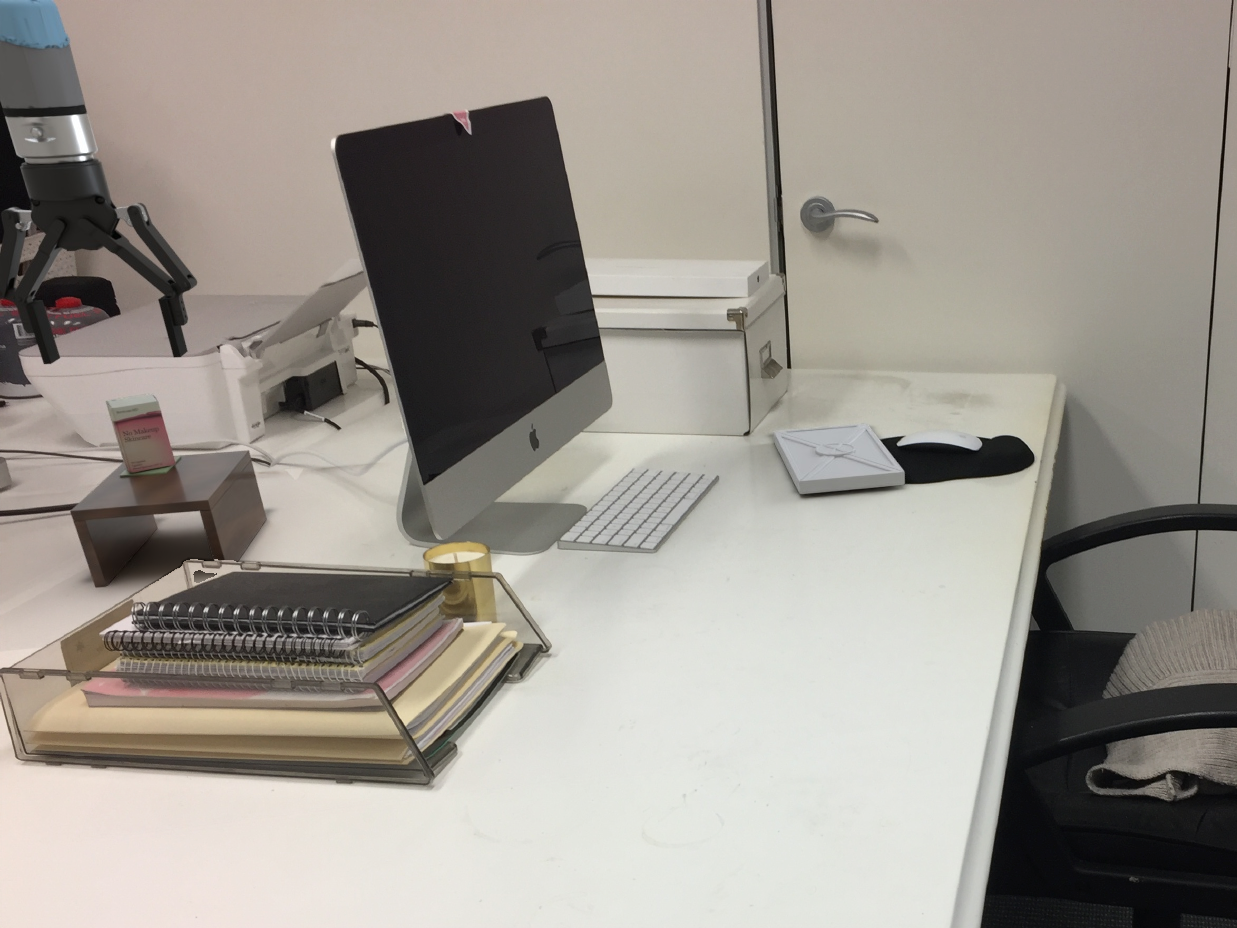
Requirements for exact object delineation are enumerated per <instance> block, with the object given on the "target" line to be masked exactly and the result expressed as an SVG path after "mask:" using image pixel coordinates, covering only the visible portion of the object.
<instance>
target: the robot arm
mask: <svg viewBox="0 0 1237 928" xmlns="http://www.w3.org/2000/svg"><path fill="white" fill-rule="evenodd" d="M70 41H71V39H70V37H69V35H68V33H66V30H65V27H64V24H63V20H62V18H61V14H60V12H59V8H58V5H57V4H56V2H55V1H54V0H0V104H1V107H2V112H3V115H4V118H5V121H6V124H7V127H8V131H9V134H10V138H11V140H12V145H13V147H14V150H15V154H16V156H17V157H19V158H21V159H24V161H25V162H22V163H21V165H20V166H19V168H20V171H21V174H22V178H23V181H24V184H25V188H26V191H27V195H28V198H29V200H30V202H31V210H30V209H29V210H27V209H21V208H20V207H17V206H12V207H9V208H7V209H4V210H2V211H1V213H0V218H1V222H2V223H1V224H2V227H3V236H2V241H1V246H0V300H5V301H9V302H11V303H13V304H14V305H15V307H16V309H17V312H18V315H19V318H20V322H21V325H22V328H23V330H24V332H25V333H26V334H33V335H34V338H35V342H36V345H37V347H38V350H39V354H40V356H41V357H40V358H41V359H42V360H41V361H42V363H43V365H52V364H53V363H55V362H57V361H58V360H59V359H61V356H60V352H59V349H58V346H57V342H56V339H55V336H54V333H53V330H52V326H51V324H50V320H49V316H48V313H47V310H46V306H45V304H44V300H43V299H39V300H34V299H35V298H36V296H35V295H36V293H37V292H38V290H39V289H40V286H41V285H42V283H43V281H44V280H45V278H46V277H47V274H48V272H49V271H50V269H51V267H52V265H53V263H54V262H55V260H56V258H57V257H58V255H59V253H61V251H62V250H66V252H76V251H79V250H85V251H86V250H87V251H99V250H102V249H103V248H105V249H106V250H107V251H108V252H110V253H111V254H113V255H116V256H117V257H118V258H120V259H121V260H122V261H123V262H124V263H126V264H127V265H128V266H129V267H130V268H132V269H133V270H134V271H135V272H136V273H137V274H139V275H140V276H141V277H142V278H143V279H145V280H146V281H147V282H148V283H149V284H151V285H152V286H153V287H154V288H156V289H157V290H158V291H159V292H160V293H161V294H163V296H161V297H160V298H158V300H157V301H158V304H159V307H160V311H161V315H162V316H161V317H162V320H163V323H164V327H165V330H166V334H167V339H168V342H169V346H170V349H171V353H172V357H173V358H182V357H183V356H184V355H185V354H187V353H188V348H187V347H188V346H187V343H186V339H185V336H184V332H183V328H182V327H183V326H186V325H187V324H188V321H189V316H188V313H187V309H186V305H185V301H184V297H183V296H184V295H183V294H184V293H186V292H189V291H190V290H192V289H194V288H195V287H196V286H197V285H198V279H197V278H196V277H195V275H194V274H193V273H192V272H191V270H190V269H189V268H188V267H187V266H186V264H185V263H184V262H183V260H182V259H181V258H180V257H179V255H178V254H177V252H176V251H174V249H173V248H172V246H171V245H170V244H169V243H168V241H167V240H166V239H165V238H164V236H163V235H162V234H161V232H160V231H159V230H158V229H157V227H156V226H155V225H154V224H153V222H152V219H151V217H150V214H149V211H148V209H147V207H146V205H145V204H144V203H142V202H136V203H134V204H130V205H128V206H120V207H117V206H116V205H115V204H114V202H113V200H112V198H111V193H110V189H109V185H108V181H107V178H106V174H105V171H104V167H103V163H102V161H100V160H99V158H95V157H94V154H97V153H98V151H99V148H98V144H97V142H96V138H95V134H94V131H93V127H92V124H91V119H90V117H89V113H88V110H87V108H86V107H87V106H86V101H85V97H84V94H83V90H82V85H81V81H80V80H79V75H78V71H77V68H76V63H75V59H74V56H73V51H72V47H71V43H70ZM121 220H122V221H124V222H125V224H126V225H127V226H128V227H130V228H133V229H134V231H135V233H136V235H138V237H139V238H140V240H141V241H142V242H143V243H144V245H145V246H146V247H147V248H148V250H149V251H150V252H151V253H152V255H153V256H154V257H155V258H156V259H157V261H158V262H159V264H161V266H162V267H163V269H164V270H165V271H166V272H165V271H164V270H163V269H162V268H161V267H160V266H158V265H157V264H156V263H155V262H153V261H152V260H151V259H150V258H149V257H148V256H146V255H145V254H144V253H143V252H142V251H140V250H139V249H138V248H137V247H136V246H134V244H132V243H131V242H130V240H129V239H128V238H127V237H126V236H125V235H124V234H122V233H121V231H119V230H118V229H117V227H118V225H119V223H120V221H121ZM31 223H33V224H34V225H35V226H36V227H37V228H38V229H39V230H40V231H41V232H43V233H44V234H45V235H44V237H43V238H42V240H41V242H40V243H39V246H38V248H37V249H38V250H37V252H36V253H35V255H34V257H33V259H32V261H31V262H30V264H29V266H28V267H27V269H26V271H25V273H24V275H23V276H22V278H21V280H20V282H19V283H18V286H17V287H16V283H17V278H18V273H19V270H20V264H21V259H22V255H23V250H24V245H25V240H26V233H27V230H30V228H31Z"/></svg>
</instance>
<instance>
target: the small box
mask: <svg viewBox="0 0 1237 928" xmlns="http://www.w3.org/2000/svg"><path fill="white" fill-rule="evenodd" d="M105 405H106V408H107V411H108V414H109V415H108V416H109V417H110V421H111V424H112V428H113V431H114V435H115V438H116V441H117V445H118V448H119V452H120V454H121V458H122V461H123V462H124V464H125V466H126V468H127V469H128V471H129V472H130V473H135V472H139V471H144V470H149V469H154V468H160V467H166V466H172V465H175V464H176V463H175V459H174V456H175V455H174V452H173V449H172V445H171V442H170V438H169V434H168V431H167V428H166V423H165V421H164V417H163V413H162V409H161V406H160V403H159V400H158V398H157V397H156V395H155V394H154V393H144V394H139V395H131V396H125V397H121V398H120V397H119V398H113V399H108V400H105Z"/></svg>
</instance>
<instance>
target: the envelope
mask: <svg viewBox="0 0 1237 928" xmlns="http://www.w3.org/2000/svg"><path fill="white" fill-rule="evenodd" d="M772 433H773V444H774V445H775V447H776V449H777V451H778V453H779V456H780V457H781V459H782V461H783V464H784V465H785V468H786V470H787V472H788V473H789V476H790V478H791V480H792V482H793V483H794V485H795V487H796V490H797V492H798V494H800V495H805V494H806V495H807V494H817V493H829V492H840V491H849V490H861V489H871V488H883V487H893V486H895V487H896V486H904V485H905V484H906V479H905V478H906V477H905V476H906V475H905V474H906V473H905V470H904V469H903V467H902V466H901V465H900V464H899V462H897V460H896V458H894V456H893V455H892V453H891V452H890V451H889V450H888V448H887V447H886V446H885V445H884V444H883V443H884V442H882V440H880V438H879V436H878V435H876V433H875V432H874V430H873V429H872V428H871V427H870V425H869V424H868V423H866V422H863V423H849V424H840V425H837V424H836V425H828V426H826V425H825V426H815V427H804V428H803V427H802V428H791V429H790V428H789V429H779V430H773V432H772Z"/></svg>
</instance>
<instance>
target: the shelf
mask: <svg viewBox="0 0 1237 928" xmlns="http://www.w3.org/2000/svg"><path fill="white" fill-rule="evenodd" d="M174 459H175V463H176V464H175V465H172V466H166V467H160V468H154V469H149V470H144V471H139V472H135V473H130V472H129V471H128V469H127V468H126V466H125V464H124V461H123V462H122V463H121V464H120V465H119V466H117V468H115V469H114V470H113V471H112V472H111V473H110V474H109V475H108V476H107V477H106V478H105V479H103V480H102V481H101V482H100V483H99V484H97V486H96V487H95V488H94V489H93V490H91V491H90V493H88V494H87V495H86V496H85V497H83V498H82V499H81V500H80V501H79V502H78V503H77V504H76V505H75V506H74V507H73V508H72V509H70V512H69V513H70V515H71V519H72V521H73V524H74V527H75V531H76V533H77V536H78V539H79V543H80V545H81V548H82V552H83V554H84V558H85V561H86V563H87V566H88V569H89V573H90V575H91V578H92V582H93V584H94V587H95V588H100V587H107V586H108V585H109V584H110V583H111V582H112V580H113V579H115V578H116V576H117V575H118V574H119V573H120V572H121V570H122V569H123V568H124V567H125V566H126V565H127V563H129V562H130V561H131V559H132V558H133V557H134V556H135V555H136V553H137V552H138V551H139V550H140V549H141V548H142V546H144V544H145V543H146V542H147V541H148V540H149V539H150V537H151V536H152V535H153V534H154V533H155V532H156V531H157V530H158V524H157V522H156V517H155V515H166V514H178V513H179V514H180V513H191V512H199V514H200V518H201V521H202V525H203V529H204V532H205V535H206V538H207V542H208V546H209V550H210V553H211V556H212V560H213V559H218V560H234V561H238V562H239V561H240V559H241V558H242V556H243V555H244V553H245V552H246V550H247V549H248V547H250V544H251V543H252V542H253V539H255V537H256V536H257V534H258V533H259V531H260V529H261V528H262V527H263V525H264V523H265V522H266V521H267V519H268V518H267V515H266V511H265V507H264V504H263V500H262V496H261V492H260V491H261V490H260V488H259V484H258V479H257V475H256V472H255V468H254V465H253V461H252V456H251V452H250V450H249V449H247V450H235V451H222V452H221V451H219V452H209V453H207V452H206V453H196V454H195V453H194V454H183V455H174Z"/></svg>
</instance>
